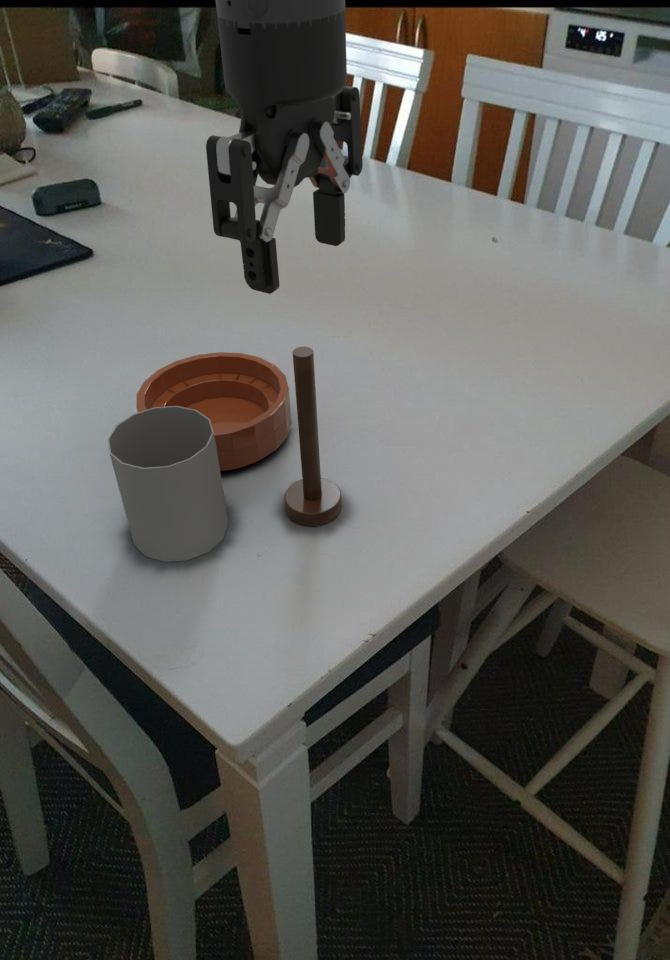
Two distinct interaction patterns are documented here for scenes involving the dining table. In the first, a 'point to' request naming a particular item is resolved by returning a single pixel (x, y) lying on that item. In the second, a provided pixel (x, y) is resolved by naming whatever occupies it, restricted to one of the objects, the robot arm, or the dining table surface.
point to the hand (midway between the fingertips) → (298, 265)
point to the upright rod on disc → (309, 454)
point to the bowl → (227, 401)
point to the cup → (170, 482)
